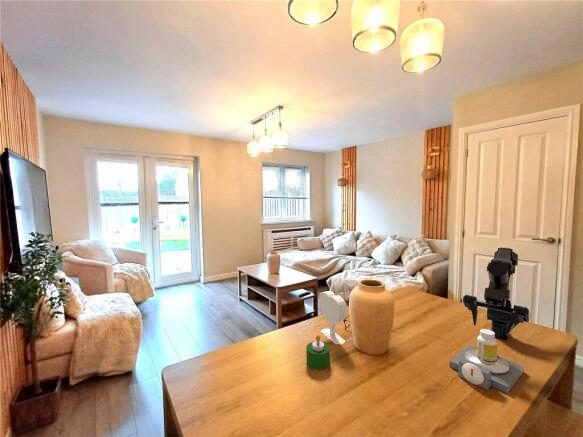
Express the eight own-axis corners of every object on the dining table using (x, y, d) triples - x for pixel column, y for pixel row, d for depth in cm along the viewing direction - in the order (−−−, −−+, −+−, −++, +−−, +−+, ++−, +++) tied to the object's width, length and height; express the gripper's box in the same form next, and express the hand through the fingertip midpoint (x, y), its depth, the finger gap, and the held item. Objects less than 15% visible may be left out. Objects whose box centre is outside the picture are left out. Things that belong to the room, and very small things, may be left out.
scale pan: (473, 348, 98) (473, 346, 98) (514, 364, 89) (514, 362, 88) (458, 360, 91) (458, 358, 91) (501, 379, 82) (501, 376, 81)
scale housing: (469, 350, 101) (469, 334, 101) (523, 371, 88) (524, 354, 88) (444, 370, 90) (444, 353, 89) (502, 398, 77) (503, 379, 76)
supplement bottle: (500, 362, 88) (501, 333, 88) (489, 366, 86) (490, 337, 86) (483, 353, 93) (484, 326, 93) (472, 357, 91) (473, 329, 91)
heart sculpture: (348, 343, 107) (348, 299, 106) (337, 346, 105) (337, 301, 104) (328, 326, 121) (327, 287, 120) (318, 329, 119) (317, 289, 118)
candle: (332, 358, 97) (332, 332, 97) (325, 372, 90) (325, 343, 89) (311, 353, 101) (311, 327, 100) (303, 366, 93) (302, 338, 93)
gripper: (464, 273, 102) (455, 310, 95) (530, 284, 88) (524, 328, 82) (469, 288, 108) (460, 324, 101) (531, 300, 94) (526, 343, 88)
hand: (490, 329), depth 93 cm, fingers open, 9 cm apart
